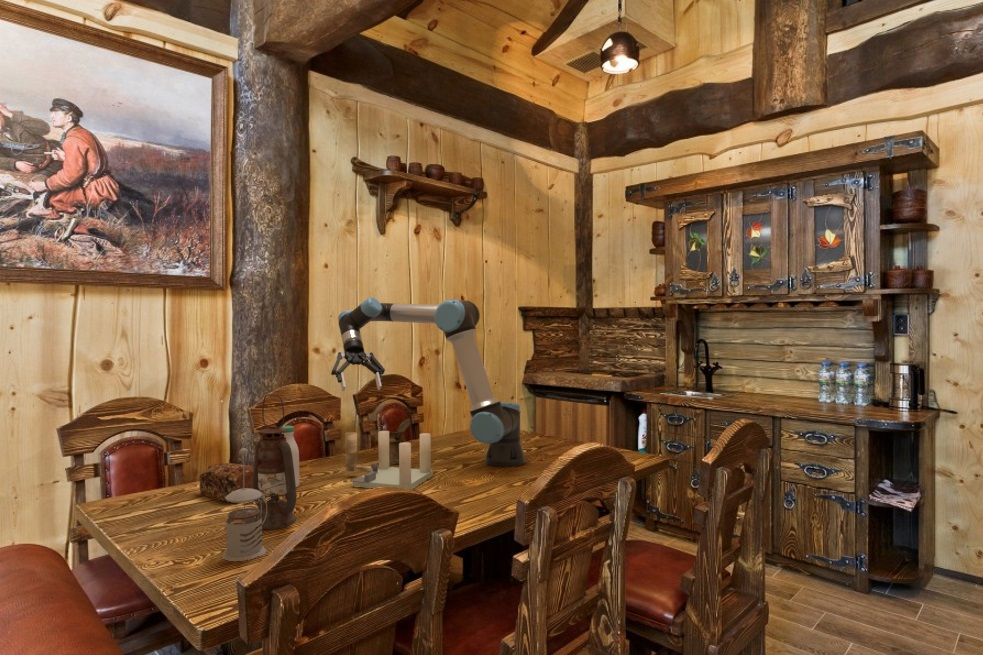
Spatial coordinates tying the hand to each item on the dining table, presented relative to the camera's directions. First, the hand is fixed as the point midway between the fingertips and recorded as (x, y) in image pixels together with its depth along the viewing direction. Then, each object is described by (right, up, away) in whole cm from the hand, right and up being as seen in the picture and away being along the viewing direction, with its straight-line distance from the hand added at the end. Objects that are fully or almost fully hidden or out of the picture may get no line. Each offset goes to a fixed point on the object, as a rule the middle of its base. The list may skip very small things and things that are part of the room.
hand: (362, 388), depth 219 cm
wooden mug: (+11, -30, +7) cm, 32 cm away
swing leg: (+3, -27, -13) cm, 30 cm away
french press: (-10, -31, -78) cm, 85 cm away
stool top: (+15, -30, -18) cm, 38 cm away
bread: (-34, -31, -33) cm, 57 cm away
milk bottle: (-19, -30, -24) cm, 43 cm away
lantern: (-11, -31, -58) cm, 67 cm away
